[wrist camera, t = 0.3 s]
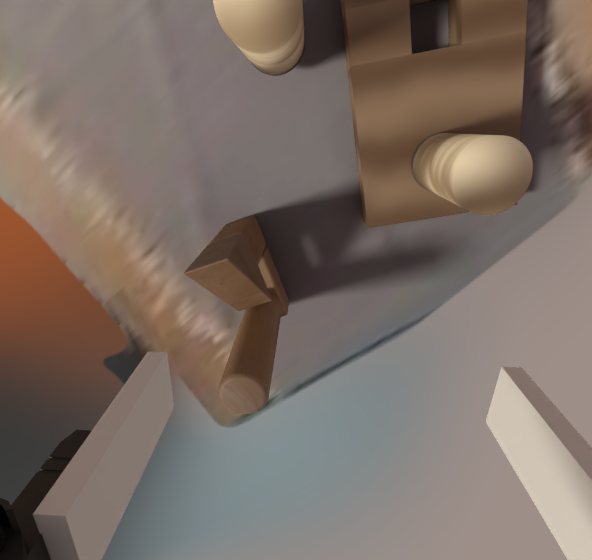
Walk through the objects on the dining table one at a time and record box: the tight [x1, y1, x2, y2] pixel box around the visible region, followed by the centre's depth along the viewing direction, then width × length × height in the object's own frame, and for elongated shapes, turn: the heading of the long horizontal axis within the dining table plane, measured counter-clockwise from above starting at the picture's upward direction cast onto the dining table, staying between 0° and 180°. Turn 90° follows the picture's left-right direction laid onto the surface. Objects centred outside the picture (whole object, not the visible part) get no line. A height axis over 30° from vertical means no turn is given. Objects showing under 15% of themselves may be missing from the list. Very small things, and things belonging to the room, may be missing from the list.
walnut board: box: [340, 0, 533, 228], centre depth 28 cm, size 22×14×14 cm, turn 10°
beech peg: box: [213, 0, 305, 76], centre depth 27 cm, size 5×5×14 cm
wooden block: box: [184, 215, 289, 414], centre depth 33 cm, size 4×11×18 cm, turn 20°
